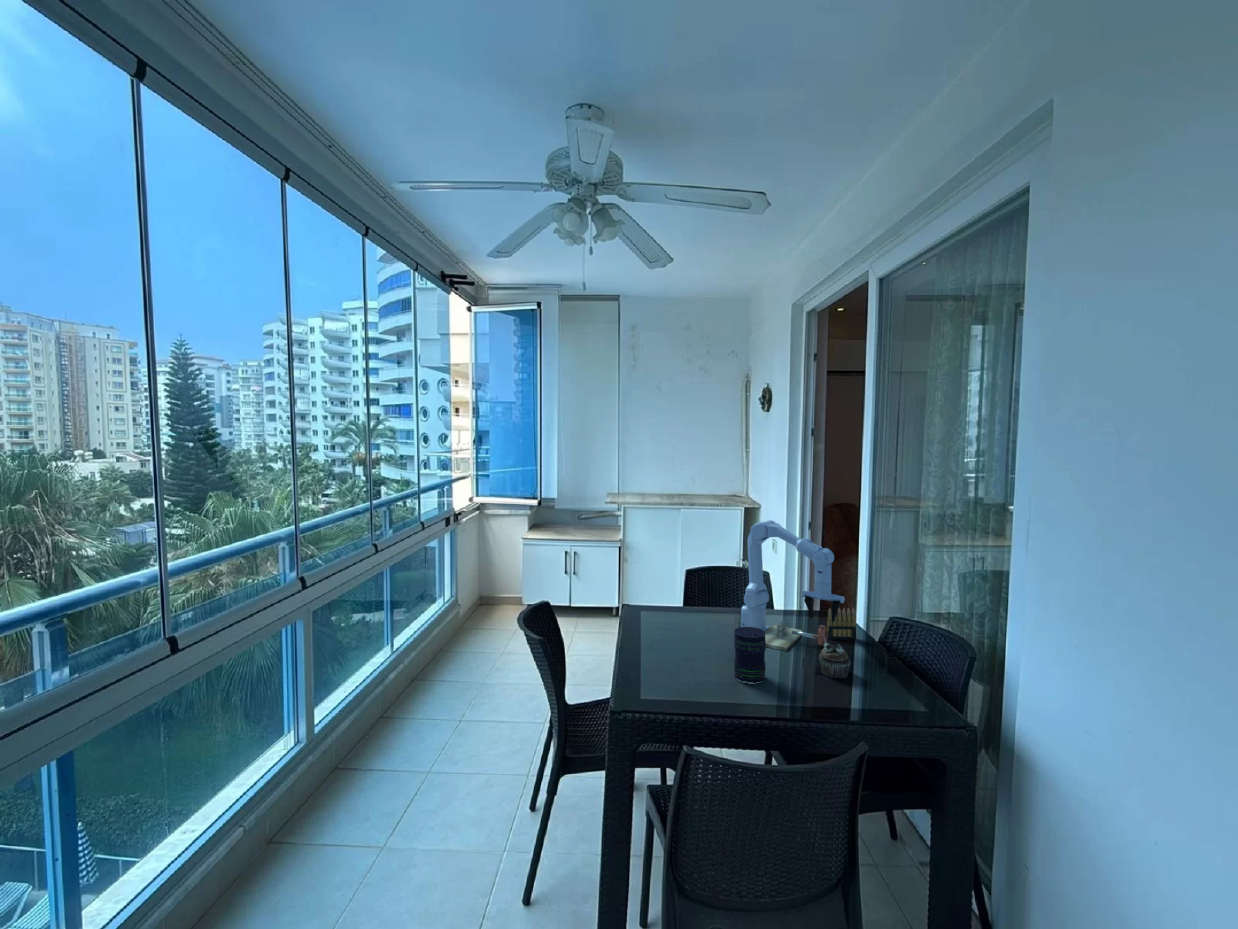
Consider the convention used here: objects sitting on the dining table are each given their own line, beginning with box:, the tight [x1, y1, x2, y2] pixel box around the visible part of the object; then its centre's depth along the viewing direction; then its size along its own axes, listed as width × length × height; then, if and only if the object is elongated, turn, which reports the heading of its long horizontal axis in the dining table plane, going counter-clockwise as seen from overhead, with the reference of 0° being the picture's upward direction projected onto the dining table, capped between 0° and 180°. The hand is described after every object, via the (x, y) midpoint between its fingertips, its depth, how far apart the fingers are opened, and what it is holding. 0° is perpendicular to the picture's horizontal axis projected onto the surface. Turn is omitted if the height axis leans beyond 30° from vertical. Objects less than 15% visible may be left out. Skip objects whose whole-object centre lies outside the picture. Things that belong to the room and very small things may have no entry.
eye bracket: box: [765, 620, 804, 652], centre depth 213 cm, size 12×22×6 cm, turn 147°
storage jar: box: [733, 626, 767, 683], centre depth 177 cm, size 10×10×15 cm
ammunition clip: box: [826, 607, 857, 641], centre depth 212 cm, size 11×2×12 cm, turn 86°
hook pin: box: [792, 624, 828, 646], centre depth 206 cm, size 12×7×7 cm, turn 57°
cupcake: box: [818, 641, 852, 679], centre depth 180 cm, size 10×10×10 cm
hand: (822, 619), depth 204 cm, fingers open, 7 cm apart
